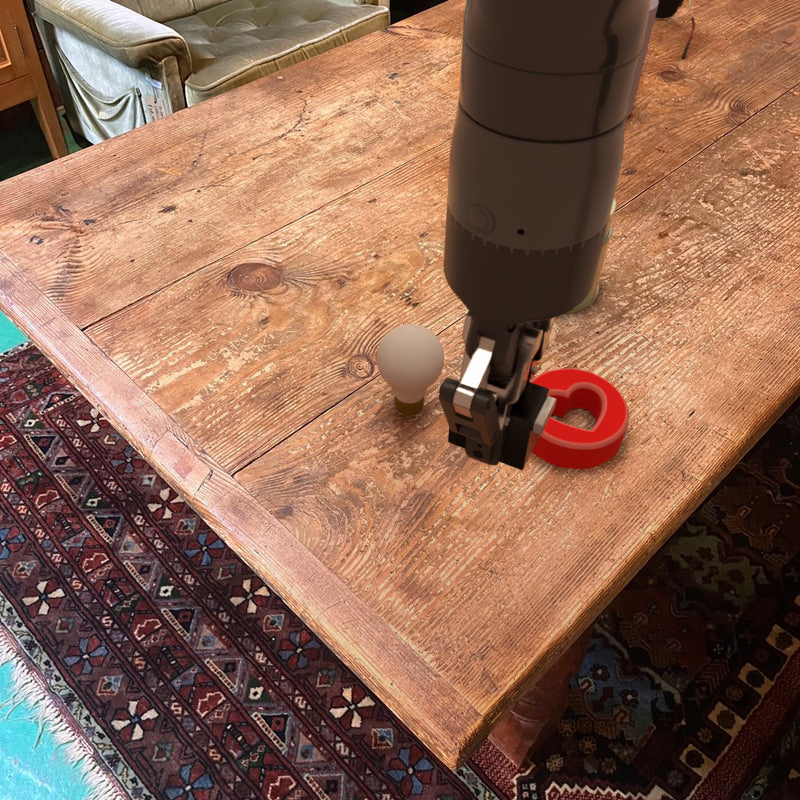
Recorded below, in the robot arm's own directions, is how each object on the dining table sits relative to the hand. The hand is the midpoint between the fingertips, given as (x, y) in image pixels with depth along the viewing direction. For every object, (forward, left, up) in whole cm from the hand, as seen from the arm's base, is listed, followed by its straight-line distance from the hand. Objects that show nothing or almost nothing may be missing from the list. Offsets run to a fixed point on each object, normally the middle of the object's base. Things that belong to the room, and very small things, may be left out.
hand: (494, 435), depth 48 cm
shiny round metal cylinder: (+6, -37, -17) cm, 41 cm away
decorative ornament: (-2, -18, -17) cm, 25 cm away
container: (+14, -79, -17) cm, 82 cm away
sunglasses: (+14, -107, -17) cm, 109 cm away
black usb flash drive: (0, 0, 0) cm, 0 cm away
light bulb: (+12, -13, -17) cm, 25 cm away
